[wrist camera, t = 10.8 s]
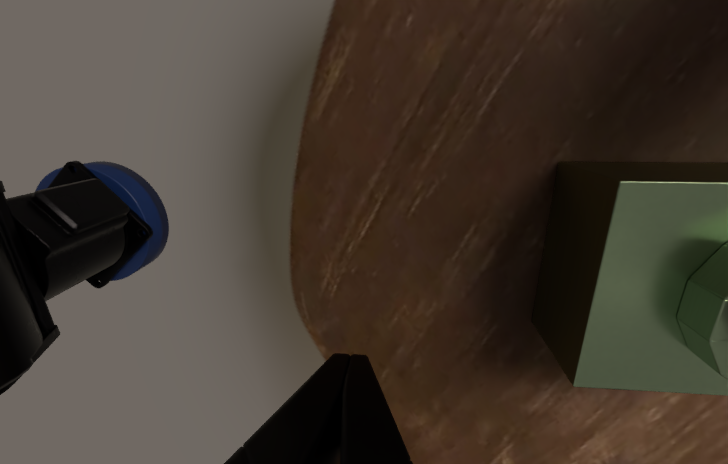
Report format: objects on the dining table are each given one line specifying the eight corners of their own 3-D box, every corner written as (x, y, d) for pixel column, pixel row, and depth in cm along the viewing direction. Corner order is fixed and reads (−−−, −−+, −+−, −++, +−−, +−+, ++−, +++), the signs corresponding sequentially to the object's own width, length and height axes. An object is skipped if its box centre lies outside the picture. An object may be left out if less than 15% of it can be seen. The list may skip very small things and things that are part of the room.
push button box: (531, 321, 23) (592, 417, 15) (558, 161, 19) (651, 190, 12) (709, 328, 22) (860, 434, 15) (768, 162, 19) (998, 195, 11)
